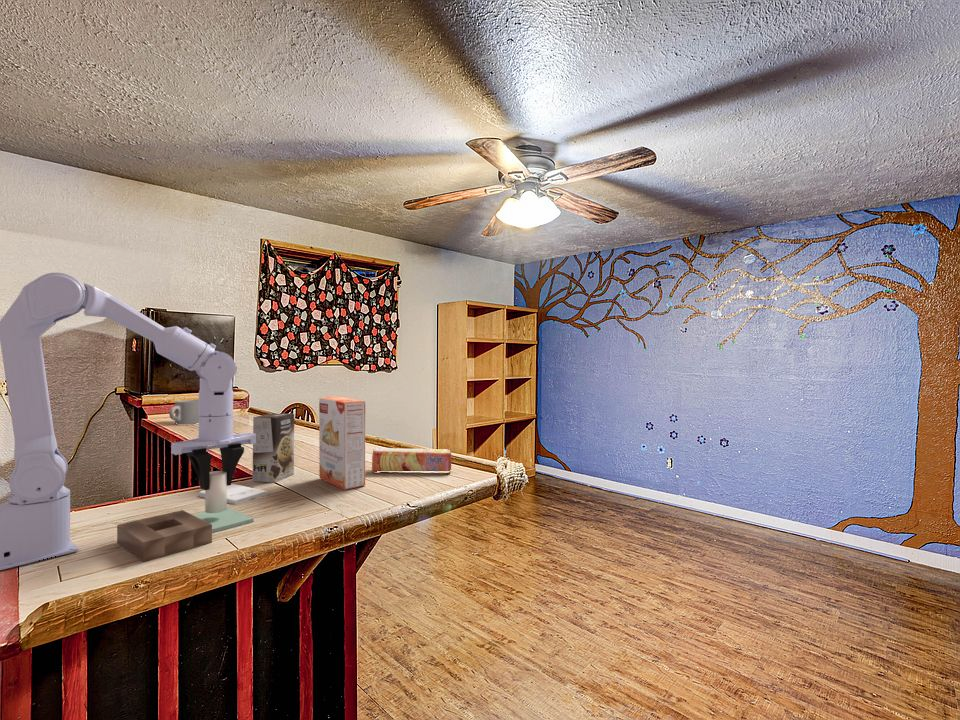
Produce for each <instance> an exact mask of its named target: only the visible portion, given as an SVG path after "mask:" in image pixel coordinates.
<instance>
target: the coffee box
mask: <svg viewBox="0 0 960 720" xmlns="http://www.w3.org/2000/svg"><path fill="white" fill-rule="evenodd" d="M252 421H253V422H252V423H253V426H252V433H253V434H256V444H252V479H251V481H252V482H259V483H260V482H261V483H273V484H275V483H277V482H279V481H281V480H283V479H287V478H288V477H290V476H293V475H294V474H295V413H268V414H264V415H263V414H262V415H258V416H253V418H252Z"/></svg>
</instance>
